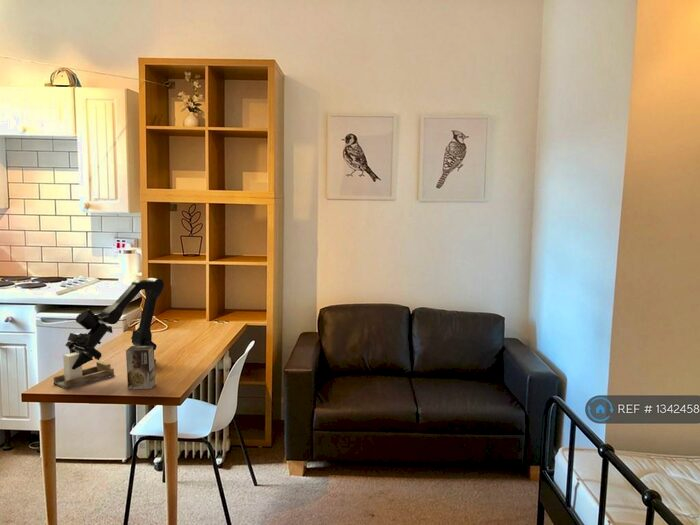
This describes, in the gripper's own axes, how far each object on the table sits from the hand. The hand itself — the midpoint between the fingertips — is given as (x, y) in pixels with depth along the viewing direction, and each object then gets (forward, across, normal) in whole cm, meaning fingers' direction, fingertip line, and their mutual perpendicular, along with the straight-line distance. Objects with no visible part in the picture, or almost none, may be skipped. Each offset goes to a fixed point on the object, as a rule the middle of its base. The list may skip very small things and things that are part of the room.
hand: (69, 368), depth 207 cm
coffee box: (-6, +26, +15) cm, 31 cm away
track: (0, 0, +9) cm, 9 cm away
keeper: (+3, 0, +5) cm, 5 cm away
